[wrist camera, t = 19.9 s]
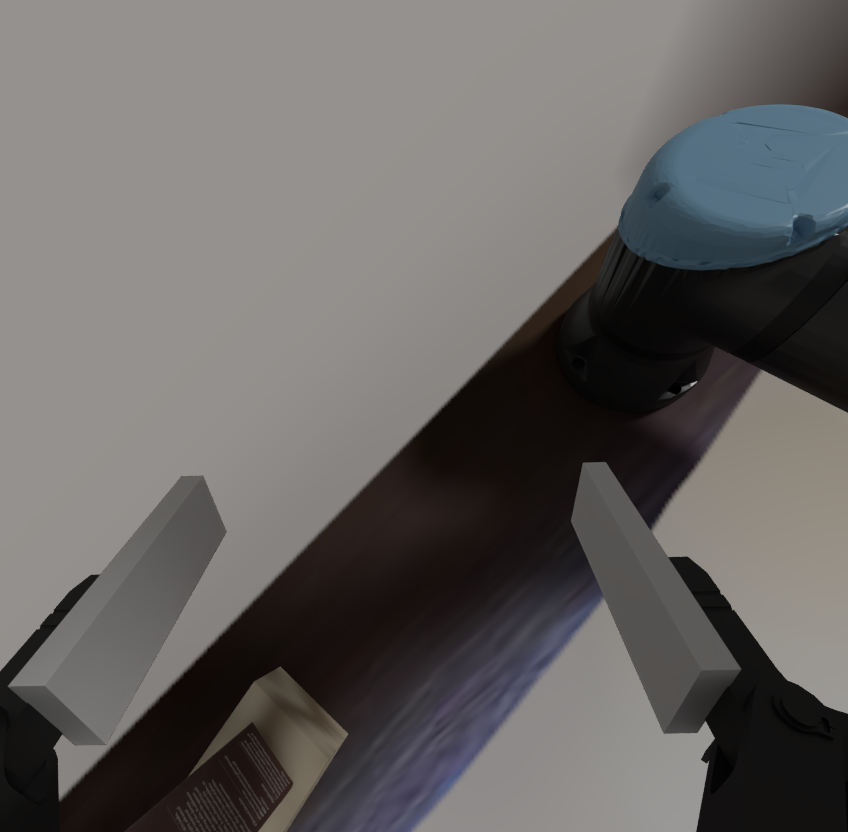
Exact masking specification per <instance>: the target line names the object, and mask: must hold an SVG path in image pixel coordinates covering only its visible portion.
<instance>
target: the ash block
mask: <svg viewBox="0 0 848 832" xmlns="http://www.w3.org/2000/svg"><path fill="white" fill-rule="evenodd" d="M251 722H253V723H254V725H255V726H256V728H257V729H258V731H259V733H260V734H261V735H262V737H263V738H264V740H265V741H266V743H267V744H268V746H269V747H270V749H271V750H272V752H273V753H274V755H275V756H276V758H277V759H278V761H279V762H280V764H281V765H282V767H283V768H284V770H285V771H286V773H287V774H288V776H289V777H290V778H291V780H292V781H293V786H292V788H291V790H290V791H289V792H288V794H287V795H286V796H285V798H284V799H283V800H282V802H281V803H280V804H279V805H278V807H277V808H276V809H275V810H274V812H273V813H272V814H271V816H270V817H269V818H268V820H267V821H266V822H265V824H264V825H263V826H262V827H261V829H260V830H259V831H258V832H286V831H287V830H288V828H289V827H290V825H291V824H292V822H293V821H294V819H295V817H296V816H297V814H298V813H299V811H300V809H301V808H302V806H303V805H304V803H305V802H306V800H307V798H308V797H309V795H310V794H311V792H312V790H313V789H314V787H315V786H316V784H317V783H318V781H319V779H320V778H321V776H322V775H323V773H324V772H325V770H326V768H327V767H328V765H329V764H330V762H331V760H332V759H333V757H334V756H335V754H336V753H337V751H338V749H339V748H340V746H341V745H342V743H343V742H344V740H345V738H346V737H347V735H348V733H347V732H346V731H345V730H344V729H343V728H342V727H341V726H340V725H339V724H338V723H337V722H336V721H335V720H334V719H333V718H332V717H331V716H330V715H329V714H328V713H327V712H326V711H325V710H324V709H323V708H322V707H321V706H320V705H319V704H318V703H317V702H316V701H315V700H314V699H313V698H312V697H311V696H310V695H309V694H308V693H307V692H306V691H305V690H304V689H303V688H302V687H301V686H300V685H299V684H298V683H297V682H296V681H295V680H294V679H293V678H292V677H291V676H290V675H289V674H288V673H287V672H286V671H285V670H284V669H282V668H281V667H279V668H277V669H275V670H274V671H272V672H270V673H268V674H267V675H265V676H263V677H261V678H260V679H258V680H256V681H254V682H253V684H252V685H251V687H250V688H249V690H248V691H247V693H246V694H245V695H244V697H243V698H242V700H241V701H240V703H239V704H238V705H237V707H236V708H235V710H234V711H233V713H232V714H231V716H230V717H229V718H228V720H227V721H226V723H225V724H224V726H223V727H222V728H221V730H220V731H219V733H218V734H217V736H216V737H215V739H214V740H213V741H212V743H211V744H210V746H209V747H208V749H207V750H206V751H205V753H204V754H203V756H202V757H201V759H200V760H199V762H198V763H197V764H196V766H195V767H194V769H193V770H192V772H191V773H190V774H189V776H190V775H191V774H192V773H193V772H194V771H195V770H197V769H198V768H199V767H200V766H201V765H202V764H203V763H205V762H206V761H207V760H208V759H209V758H210V757H212V756H213V755H214V754H215V753H216V752H217V751H219V750H220V749H221V748H222V747H223V746H224V745H226V744H227V743H228V742H229V741H230V740H231V739H233V738H234V737H235V736H236V735H237V734H239V733H240V732H241V731H242V730H243V729H244V728H246V727H247V726H248V725H249V724H250V723H251Z"/></svg>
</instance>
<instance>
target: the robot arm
mask: <svg viewBox="0 0 848 832" xmlns="http://www.w3.org/2000/svg"><path fill="white" fill-rule="evenodd" d="M715 347H717V348H719V349H721V350H723V351H725V352H727V353H730V354H732V355H734V356H736V357H738V358H740V359H742V360H744V361H746V362H748V363H750V364H752V365H754V366H756V367H758V368H760V369H762V370H764V371H766V372H768V373H770V374H772V375H774V376H776V377H778V378H780V379H782V380H784V381H786V382H788V383H790V384H792V385H794V386H796V387H798V388H800V389H802V390H804V391H806V392H808V393H810V394H812V395H814V396H816V397H818V398H820V399H822V400H824V401H826V402H828V403H829V404H831V405H834V406H835V407H837V408H839V409H842V410H844V411H846V412H847V413H848V118H845V117H843V116H840V115H838V114H836V113H833V112H829V111H826V110H822V109H818V108H813V107H807V106H798V105H782V104H781V105H780V104H779V105H760V106H752V107H746V108H741V109H736V110H731V111H728V112H725V113H724V114H722V115H720V116H716V117H711V118H707V119H704V120H702V121H699V122H697V123H695V124H693V125H692V126H689V127H688V128H686V129H684V130H683V131H681V132H680V133H678V134H677V135H675V136H674V137H673V138H671V139H670V140H669V141H668V142H667V143H665V144H664V145H663V146H662V147H661V148H660V149H659V150H658V151H657V152H656V153H655V155H654V156H653V157H652V158H651V159H650V161H649V162H648V164H647V166H646V167H645V169H644V170H643V173H642V174H641V176H640V178H639V181H638V183H637V185H636V187H635V189H634V191H633V193H632V194H631V196H630V197H629V198H628V200H627V201H626V203H625V204H624V206H623V208H622V211H621V216H620V219H619V225H618V227H617V230H616V232H615V235H614V237H613V240H612V243H611V245H610V248H609V250H608V253H607V255H606V258H605V260H604V263H603V265H602V268H601V270H600V273H599V275H598V278H597V281H596V283H595V284H594V285H593V286H591V287H590V288H589V289H588V290H587V291H586V292H585V293H584V294H582V295H581V296H580V297H579V298H578V299H577V300H576V301H575V302H574V303H573V304H572V306H571V307H570V308H569V310H568V311H567V313H566V315H565V317H564V319H563V322H562V325H561V328H560V331H559V334H558V338H557V355H558V360H559V363H560V366H561V369H562V371H563V373H564V374H565V376H566V378H567V379H568V380H569V382H570V383H571V384H572V385H573V386H574V387H575V388H576V389H577V390H578V391H579V392H580V393H581V394H582V395H584V396H585V397H587V398H588V399H590V400H592V401H593V402H595V403H597V404H600V405H602V406H605V407H607V408H611V409H615V410H619V411H627V412H643V411H650V410H655V409H659V408H662V407H664V406H667V405H669V404H671V403H673V402H675V401H676V400H678V399H679V398H681V397H682V396H683V395H684V394H686V393H687V392H688V391H689V390H691V389H692V388H693V387H694V386H695V385H696V384H697V383H698V382H699V381H700V379H701V378H702V377H703V375H704V374H705V372H706V370H707V368H708V366H709V363H710V361H711V358H712V355H713V352H714V349H715ZM571 523H572V525H573V527H574V529H575V532H576V534H577V536H578V539H579V541H580V543H581V545H582V548H583V550H584V552H585V555H586V557H587V559H588V561H589V564H590V566H591V568H592V571H593V573H594V575H595V577H596V580H597V582H598V584H599V587H600V589H601V591H602V593H603V596H604V598H605V600H606V603H607V604H608V607H609V609H610V612H611V614H612V616H613V619H614V621H615V623H616V625H617V627H618V630H619V632H620V635H621V637H622V639H623V641H624V644H625V646H626V648H627V651H628V653H629V655H630V657H631V660H632V662H633V664H634V667H635V669H636V671H637V674H638V676H639V678H640V680H641V683H642V685H643V687H644V690H645V692H646V694H647V696H648V699H649V701H650V703H651V706H652V707H653V710H654V712H655V715H656V717H657V719H658V722H659V724H660V726H661V728H662V731H663V732H664V734H665V733H697V732H698V731H699V730H700V728H701V727H702V725H703V724H704V722H705V721H706V722H707V724H708V726H709V728H710V730H711V732H712V734H713V735H714V737H715V739H714V741H713V742H712V743H711V745H710V746H709V747H708V749H707V750H706V751H705V753H704V755H703V757H702V759H701V760H702V761H704V762H705V763H708V761H709V765H708V770H707V776H706V781H705V787H704V792H703V798H702V803H701V809H700V815H699V820H698V825H697V831H696V832H848V714H847V713H844V712H840V711H837V710H834V709H831V708H829V707H826V706H824V705H823V704H822V703H821V702H820V701H819V700H818V699H817V698H816V697H815V696H814V695H812V694H811V693H809V692H808V691H806V690H805V689H803V688H802V687H800V686H799V685H797V684H795V683H792V682H790V681H787V680H786V679H785V678H784V676H783V675H782V674H781V673H780V672H779V671H778V669H777V668H776V667H775V666H774V664H773V663H772V661H771V660H770V659H769V657H768V656H767V654H766V653H765V652H764V650H763V649H762V648H761V646H760V645H759V643H758V642H757V641H756V639H755V638H754V637H753V635H752V634H751V632H750V631H749V630H748V629H747V627H746V626H745V624H744V623H743V621H742V620H741V619H740V618H739V616H738V615H737V613H736V612H735V611H734V610H732V608H731V605H730V604H729V602H728V601H727V600H726V598H725V597H724V595H721V593H720V590H719V589H718V588H717V586H716V584H715V583H714V582H713V581H712V579H711V578H710V576H709V575H708V573H707V572H706V571H704V570H703V569H702V568H701V567H700V566H698V565H697V564H696V563H695V562H693V561H692V560H691V559H690V558H689V557H667V555H666V554H665V552H664V551H663V549H662V548H661V546H660V544H659V543H658V541H657V540H656V538H655V537H654V535H653V534H652V532H651V531H650V529H649V528H648V526H647V525H646V523H645V521H644V520H643V518H642V517H641V515H640V514H639V512H638V511H637V509H636V508H635V506H634V505H633V503H632V502H631V500H630V499H629V497H628V495H627V494H626V492H625V491H624V489H623V488H622V486H621V485H620V483H619V482H618V480H617V479H616V477H615V476H614V474H613V473H612V471H611V470H610V468H609V466H608V465H607V463H606V462H592V463H583V465H582V470H581V475H580V480H579V484H578V489H577V494H576V499H575V504H574V509H573V514H572V518H571ZM226 532H227V531H226V529H225V527H224V524H223V522H222V520H221V517H220V515H219V513H218V510H217V508H216V505H215V503H214V500H213V498H212V496H211V493H210V491H209V489H208V486H207V484H206V481H205V479H204V477H203V476H181V477H180V479H179V480H178V481H177V482H176V484H175V485H174V486H173V487H172V489H171V490H170V491H169V492H168V493H167V494H166V496H165V497H164V498H163V499H162V500H161V502H160V503H159V504H158V505H157V507H156V508H155V509H154V510H153V512H152V513H151V514H150V515H149V517H147V519H146V520H145V521H144V522H143V523H142V525H141V526H140V527H139V528H138V530H137V531H136V532H135V533H134V534H133V536H132V537H131V538H130V540H128V542H127V543H126V544H125V545H124V547H123V548H122V549H121V550H120V551H119V553H118V554H117V555H116V556H115V557H114V559H113V560H112V561H111V562H110V563H109V565H108V566H107V567H106V568H105V569H104V571H103V572H102V573H101V574H100V575H90V576H89V577H88V578H86V579H85V580H84V581H83V582H81V583H80V584H79V585H77V586H76V587H75V588H73V589H72V590H71V591H70V592H69V593H68V594H67V595H66V596H65V598H64V599H63V600H62V601H61V602H60V603H59V605H58V606H57V607H56V608H55V609H54V612H53V614H50V615H49V616H48V617H47V618H46V619H45V621H44V622H43V623H42V624H41V625H40V629H38V630H36V631H35V632H34V633H33V634H32V636H31V637H30V638H29V639H28V640H27V642H25V644H24V645H23V646H22V647H21V648H20V649H19V651H18V652H17V653H16V654H15V655H14V656H13V658H12V659H11V660H10V661H9V662H8V663H7V664H6V666H5V667H4V668H3V669H2V670H1V671H0V832H59V794H58V758H57V755H56V752H55V750H54V749H53V748H54V746H55V745H56V743H57V741H58V740H59V738H60V737H61V735H64V736H65V737H66V738H67V739H68V740H69V741H71V742H72V743H73V744H74V745H106V744H107V743H108V741H109V739H110V737H111V736H112V734H113V732H114V730H115V729H116V727H117V725H118V723H119V722H120V720H121V717H122V716H123V714H124V712H125V711H126V709H127V707H128V706H129V704H130V702H131V700H132V699H133V697H134V695H135V693H136V691H137V690H138V688H139V686H140V684H141V683H142V681H143V679H144V677H145V675H146V674H147V672H148V670H149V668H150V667H151V665H152V663H153V661H154V660H155V657H156V656H157V654H158V653H159V651H160V649H161V647H162V645H163V644H164V642H165V640H166V638H167V637H168V635H169V633H170V631H171V629H172V628H173V626H174V624H175V622H176V621H177V619H178V617H179V615H180V614H181V612H182V610H183V608H184V606H185V605H186V603H187V601H188V599H189V597H190V596H191V594H192V592H193V591H194V589H195V587H196V585H197V583H198V582H199V580H200V578H201V576H202V575H203V573H204V571H205V569H206V568H207V566H208V564H209V562H210V561H211V559H212V557H213V555H214V553H215V552H216V550H217V548H218V546H219V545H220V543H221V541H222V539H223V537H224V536H225V534H226Z"/></svg>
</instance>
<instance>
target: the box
mask: <svg viewBox="0 0 848 832" xmlns="http://www.w3.org/2000/svg"><path fill="white" fill-rule="evenodd" d="M292 786H293V781H292V780H291V778H290V777H289V776H288V774H287V773H286V771H285V770H284V768H283V767H282V765H281V764H280V762H279V761H278V759H277V758H276V756H275V755H274V753H273V752H272V750H271V749H270V747H269V746H268V744H267V743H266V741H265V740H264V738H263V737H262V735H261V734H260V733H259V731H258V729H257V728H256V726H255V725H254V723H253V722H251V723H250V724H249V725H248V726H247V727H246V728H244V729H243V730H242V731H241V732H240V733H239V734H237V735H236V736H235V737H234V738H233V739H231V740H230V741H229V742H228V743H227V744H226V745H224V746H223V747H222V748H221V749H220V750H219V751H217V752H216V753H215V754H214V755H213V756H212V757H210V758H209V759H208V760H207V761H206V762H205V763H203V764H202V765H201V766H200V767H199V768H198V769H197V770H195V771H194V772H193V773H192V774H191V775H190V776H188V777H187V778H186V779H185V780H184V781H183V782H181V783H180V784H179V785H178V786H177V787H176V788H175V789H173V790H172V791H171V792H170V793H169V794H168V795H166V796H165V797H164V798H163V799H162V800H161V801H160V802H158V803H157V804H156V805H155V806H154V807H152V808H151V809H150V810H149V811H148V812H147V813H145V814H144V815H143V816H142V817H140V818H139V819H138V820H137V821H136V822H135V823H134V824H132V825H131V826H130V827H129V828H128V829H126V830H125V831H124V832H258V831H259V830H260V829H261V827H262V826H263V825H264V824H265V822H266V821H267V820H268V818H269V817H270V816H271V814H272V813H273V812H274V810H275V809H276V808H277V807H278V805H279V804H280V803H281V802H282V800H283V799H284V798H285V796H286V795H287V794H288V792H289V791H290V790H291V788H292Z"/></svg>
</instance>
